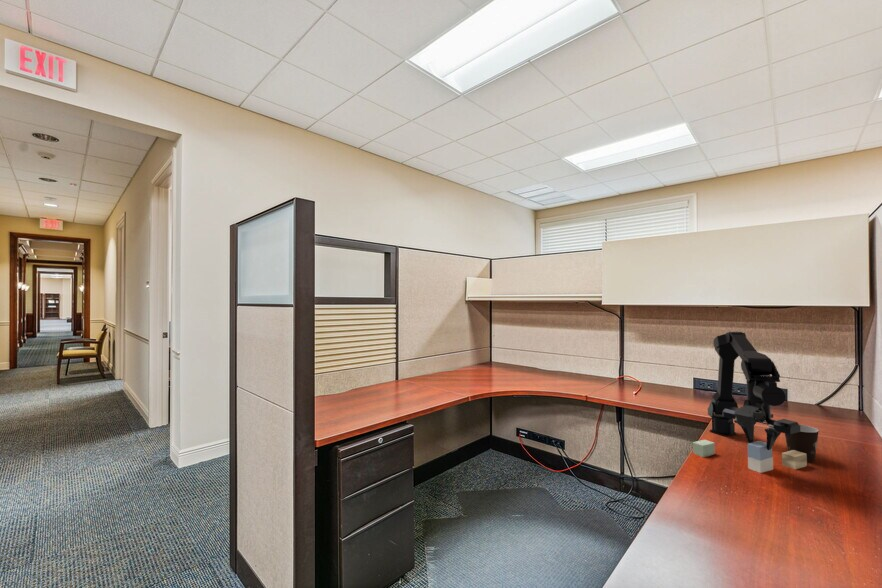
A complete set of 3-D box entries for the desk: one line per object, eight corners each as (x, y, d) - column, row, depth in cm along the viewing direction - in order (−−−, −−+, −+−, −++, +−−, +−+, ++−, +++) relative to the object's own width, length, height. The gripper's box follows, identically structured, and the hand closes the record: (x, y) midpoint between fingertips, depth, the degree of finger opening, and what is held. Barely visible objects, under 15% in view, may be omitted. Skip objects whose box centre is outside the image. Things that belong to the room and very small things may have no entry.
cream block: (748, 468, 123) (747, 456, 123) (760, 465, 125) (760, 453, 125) (760, 473, 119) (760, 460, 119) (773, 470, 121) (772, 457, 121)
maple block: (782, 465, 124) (781, 452, 124) (793, 462, 127) (793, 449, 127) (795, 469, 121) (795, 457, 121) (806, 466, 123) (806, 453, 123)
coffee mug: (807, 465, 124) (806, 433, 124) (777, 454, 132) (776, 425, 132) (832, 460, 127) (831, 429, 127) (802, 450, 135) (801, 421, 135)
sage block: (693, 453, 135) (692, 442, 135) (704, 450, 137) (704, 439, 137) (703, 457, 132) (702, 445, 132) (714, 454, 134) (714, 442, 134)
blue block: (747, 456, 122) (747, 443, 123) (759, 453, 125) (759, 440, 125) (760, 460, 119) (759, 447, 119) (772, 457, 121) (771, 444, 122)
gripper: (711, 393, 128) (712, 441, 128) (778, 408, 111) (779, 463, 110) (732, 389, 132) (734, 435, 132) (800, 403, 115) (802, 456, 115)
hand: (759, 447), depth 122 cm, fingers open, 5 cm apart
